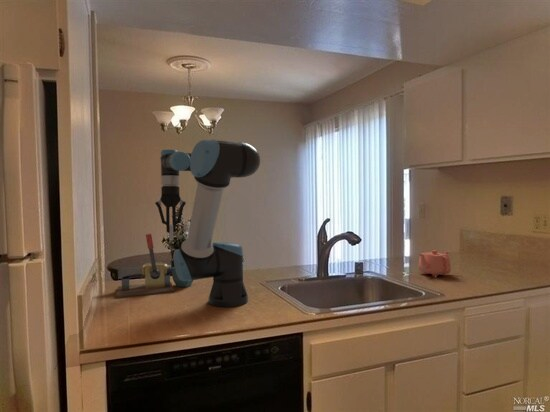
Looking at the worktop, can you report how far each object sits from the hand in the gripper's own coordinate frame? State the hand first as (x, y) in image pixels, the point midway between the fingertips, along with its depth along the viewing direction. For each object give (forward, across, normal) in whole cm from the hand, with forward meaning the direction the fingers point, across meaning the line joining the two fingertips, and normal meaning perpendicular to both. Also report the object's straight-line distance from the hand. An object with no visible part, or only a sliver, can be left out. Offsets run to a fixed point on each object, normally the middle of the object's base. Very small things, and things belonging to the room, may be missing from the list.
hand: (171, 239), depth 158 cm
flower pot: (+23, -6, -7) cm, 25 cm away
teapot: (+23, -128, +21) cm, 132 cm away
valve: (+21, +11, -6) cm, 25 cm away
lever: (+7, +10, 0) cm, 12 cm away
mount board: (+22, +11, -5) cm, 25 cm away
